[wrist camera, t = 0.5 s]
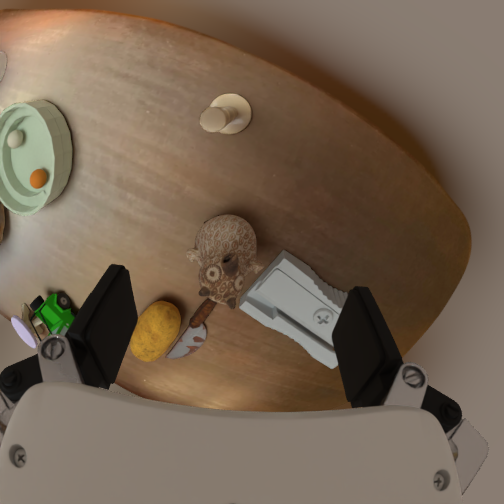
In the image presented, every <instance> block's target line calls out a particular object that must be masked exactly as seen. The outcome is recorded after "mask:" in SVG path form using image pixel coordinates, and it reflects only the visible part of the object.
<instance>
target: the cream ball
mask: <svg viewBox="0 0 504 504" xmlns="http://www.w3.org/2000/svg"><path fill="white" fill-rule="evenodd" d="M22 142H23V133H22V132H21V131H20V130H14V131H12V132H11V133H10V134H9V136H8V139H7V143H8V146H9V147H10V148H13V149H15V148H18V147H19V146H20V145H21V144H22Z"/></svg>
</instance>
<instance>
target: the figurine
mask: <svg viewBox="0 0 504 504" xmlns="http://www.w3.org/2000/svg"><path fill="white" fill-rule="evenodd" d="M187 257H188V258H189V260H190V261H191V262H193V261H194V259H195V260H197V261H198V263H199V265H200V267H201V268H200V271H199V283H200V287H201V290H200V291H199V295H200V296H207V297H208V298H210V299H211V300H213V301H215V302H218V303H222V304H226V305H228V306H229V308H231V309H234V308H235V305H236V302H235V300H236V297H237V296H238V294H239V293H240V292H241V291H242V288H243V285H244V277H245V275H246V274H248V273H249V272H251V271H254V272H255V273H258V272H259V271H260V270H261V269H262V268H263V267H264V264H262V263H261V262H259V261H258V260H257V258H256V235H255V233H254V230H253V228H252V227H251V225H250V224H249V223H248V222H247V221H246V220H244V219H242V218H240V217H238V216H235V215H220V216H216V217H214V218H212V219H210V220H209V221H206V222H204V225H203V226H202V227H201V229H200V230H199V231H198V233H197V236H196V239H195V248H193V249H188V250H187Z"/></svg>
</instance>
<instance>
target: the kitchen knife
mask: <svg viewBox="0 0 504 504" xmlns="http://www.w3.org/2000/svg"><path fill="white" fill-rule="evenodd" d="M216 303H217V302H215V301H213V300H211V299H210V298H208V299H207V300H206V301H205V302H204V303H203V304H202V305H201V306H200V307H199V309H198V310H197V311H196V312H195V314H194V316H193V318H191V319H190V324H189V326H188V328H187V329H186V331H185V332H184V333H183V335H182V336H181V337H180V339H179V340H178V341H177V343H176V344H175V346H174V347H173V348H172V350H171V351H170V352H169V353H168V354H167V356H166V357H165V358H170V359H177V358H182V357H185V356H188V355H190V354H192V353H194V352H195V351H196V350H198V349H199V348H200V347H201V345H202V344H203V343H204V341H205V338H206V328H205V326H204V325H203V324H202V323H203V322H204V321H205V320H206V318H207V317H208V316H209V314H210V313H211V311H212V310H213V308H214V306H215V304H216Z"/></svg>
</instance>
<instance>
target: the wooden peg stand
mask: <svg viewBox="0 0 504 504" xmlns="http://www.w3.org/2000/svg"><path fill="white" fill-rule="evenodd" d="M250 119H251V108H250V105H249V103H248V102H247V101H246V100H245V99H244V98H243V97H241V96H240V95H237V94H232V93H228V94H223V95H220V96H219V97H217V98H216V99H215V100H213V102H212V103H211V105H210V107H209V108H207V109H205V110H204V111H203V112H202V113H201V115H200V125H201V127H202V128H203V129H204V130H205V131H207V132H210V133H215V132H221V133H224V134H235V133H238V132H240V131H242V130H243V129H244V128H246V126H247V125H248V124H249V122H250Z"/></svg>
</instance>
